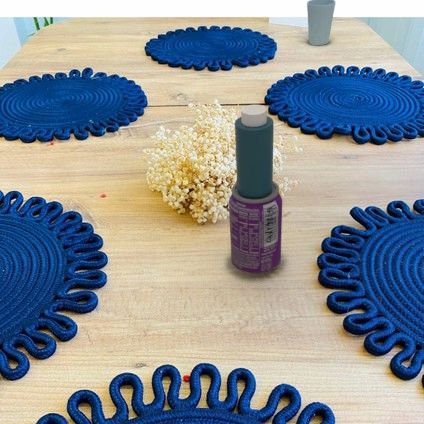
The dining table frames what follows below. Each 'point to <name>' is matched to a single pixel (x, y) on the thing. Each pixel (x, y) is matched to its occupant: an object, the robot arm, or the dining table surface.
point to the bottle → (254, 152)
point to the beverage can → (255, 231)
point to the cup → (320, 20)
